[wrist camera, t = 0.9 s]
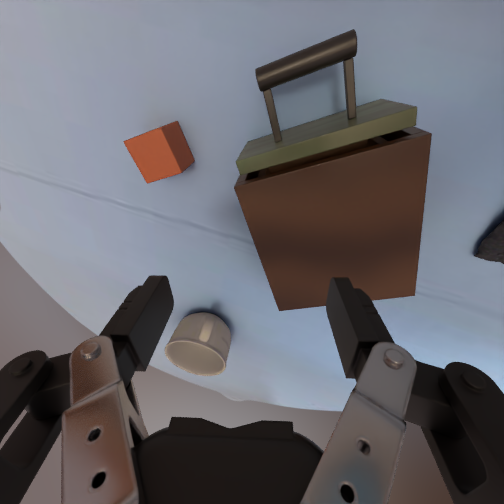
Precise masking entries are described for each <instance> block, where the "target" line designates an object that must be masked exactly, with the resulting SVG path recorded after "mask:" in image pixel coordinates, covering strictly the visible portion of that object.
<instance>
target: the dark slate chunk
mask: <svg viewBox="0 0 504 504" xmlns="http://www.w3.org/2000/svg"><path fill="white" fill-rule="evenodd" d="M474 256H475V257H479V258H481V259H485V260H488V261H495V262H502V263H503V264H504V221H502V222H501V223H500V224H499V225H498V226H497V227H496V228H495V230H493V231H492V232H491V233H490V234H489V235H488V236H487V237H486V238H485V239H484V240H483V241H482V242H481V245H480V246H479V247H478V252H477V253H476V254H475V255H474Z"/></svg>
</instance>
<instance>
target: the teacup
mask: <svg viewBox="0 0 504 504" xmlns="http://www.w3.org/2000/svg"><path fill="white" fill-rule="evenodd" d="M230 344H231V333H230V330H229V328H228V327H227V325H226V324H225V323H224V322H223V321H222V320H221V319H220V318H219V317H217V316H216V315H213V314H211V313H205V312H201V313H194V314H190V315H188V316H186V317H185V318H183V320H182V321H181V322H180V323H179V325H178V326H177V328H176V330H175V331H174V333H173V335H172V337H171V339H170V341H169V343H168V344H167V345H166V347H165V354H166V356H167V358H168V359H169V360H170V361H171V362H172V363H173V364H174V365H176V366H177V367H179V368H181V369H183V370H185V371H187V372H189V373H193V374H196V375H202V376H213V375H218V374H220V373H222V372H223V371H224V370H225V368H226V361H227V357H228V353H229V349H230Z"/></svg>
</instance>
